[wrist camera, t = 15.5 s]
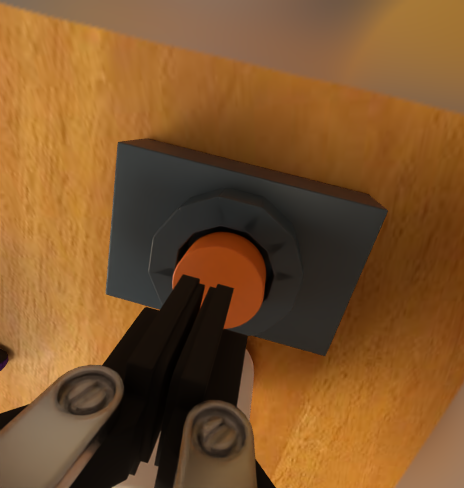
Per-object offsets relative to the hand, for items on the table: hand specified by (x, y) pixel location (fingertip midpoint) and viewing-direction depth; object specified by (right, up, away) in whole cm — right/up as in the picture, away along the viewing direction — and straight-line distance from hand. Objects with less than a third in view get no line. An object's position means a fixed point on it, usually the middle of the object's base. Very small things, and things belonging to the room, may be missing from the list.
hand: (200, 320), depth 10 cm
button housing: (+1, +3, +8) cm, 9 cm away
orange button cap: (+1, +1, +4) cm, 4 cm away
